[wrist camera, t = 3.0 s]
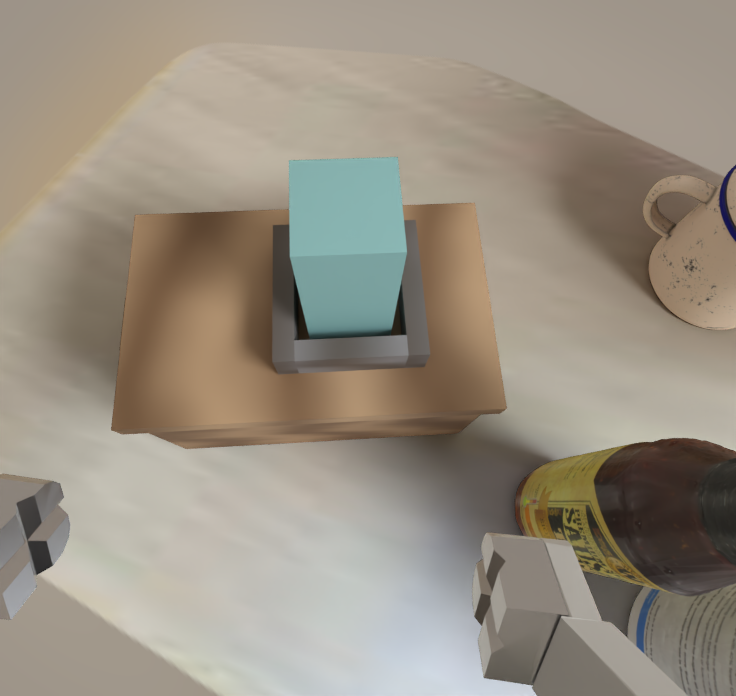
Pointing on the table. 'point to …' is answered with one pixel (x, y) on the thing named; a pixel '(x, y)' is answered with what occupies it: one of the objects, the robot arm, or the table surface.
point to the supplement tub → (689, 638)
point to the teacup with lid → (696, 252)
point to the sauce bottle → (641, 513)
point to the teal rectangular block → (347, 244)
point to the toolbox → (298, 337)
